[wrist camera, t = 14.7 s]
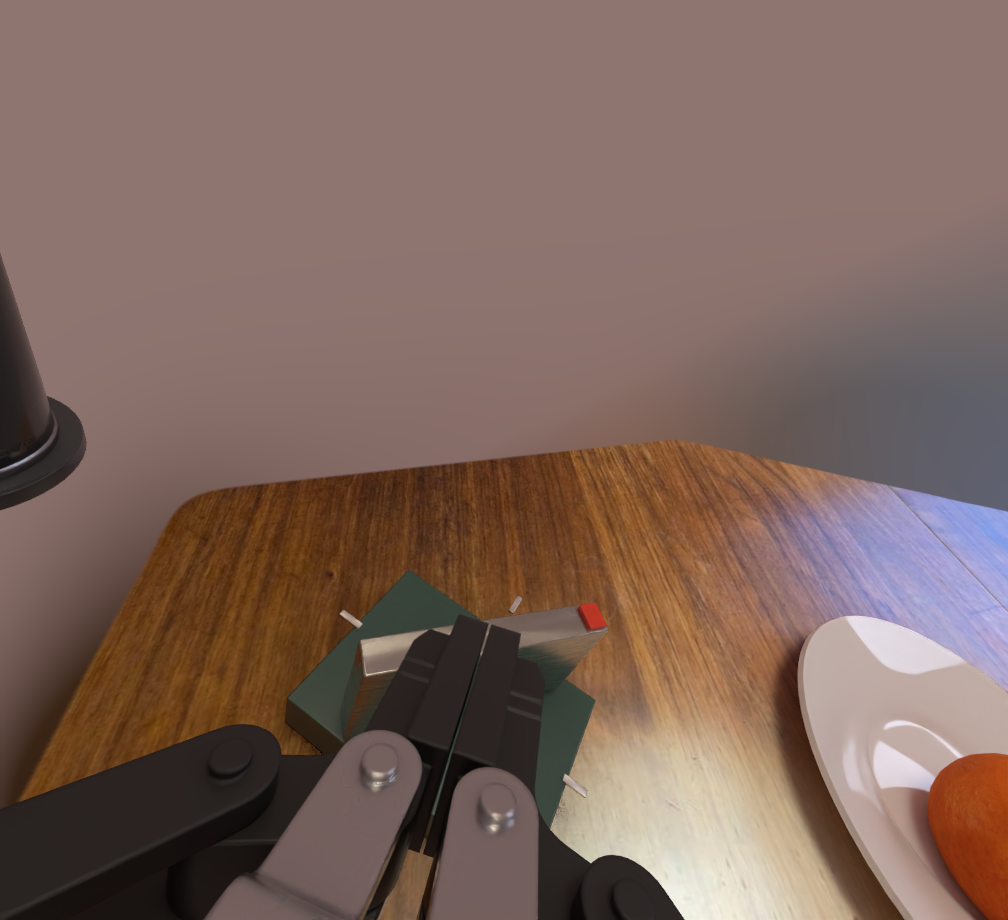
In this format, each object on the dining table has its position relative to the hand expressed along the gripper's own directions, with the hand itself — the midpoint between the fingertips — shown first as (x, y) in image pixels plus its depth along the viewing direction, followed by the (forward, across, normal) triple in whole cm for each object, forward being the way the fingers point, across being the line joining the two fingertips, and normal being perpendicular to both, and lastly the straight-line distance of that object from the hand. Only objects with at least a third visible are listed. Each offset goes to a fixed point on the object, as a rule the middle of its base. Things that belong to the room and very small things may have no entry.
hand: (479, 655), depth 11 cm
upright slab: (+12, +1, +12) cm, 17 cm away
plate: (+22, -35, +18) cm, 45 cm away
